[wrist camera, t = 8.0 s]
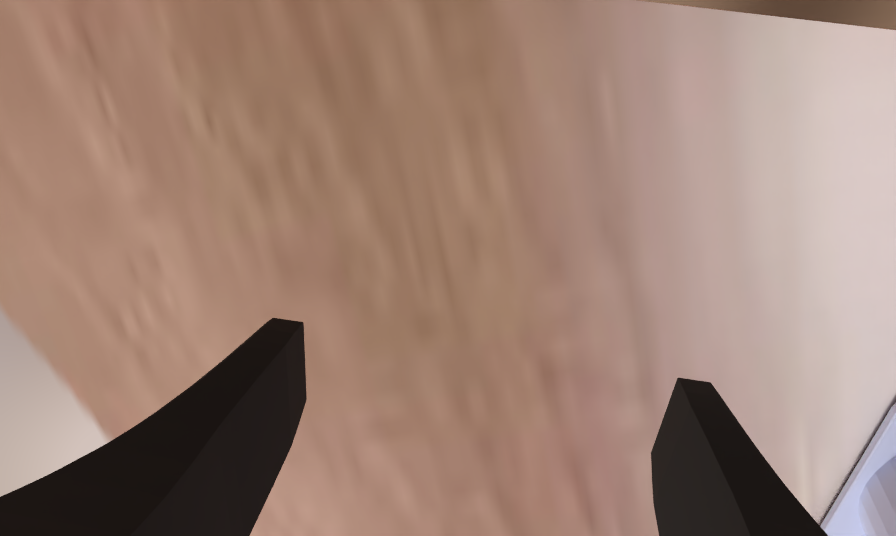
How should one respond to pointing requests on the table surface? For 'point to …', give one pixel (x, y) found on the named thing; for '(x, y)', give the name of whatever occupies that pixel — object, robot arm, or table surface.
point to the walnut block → (809, 10)
